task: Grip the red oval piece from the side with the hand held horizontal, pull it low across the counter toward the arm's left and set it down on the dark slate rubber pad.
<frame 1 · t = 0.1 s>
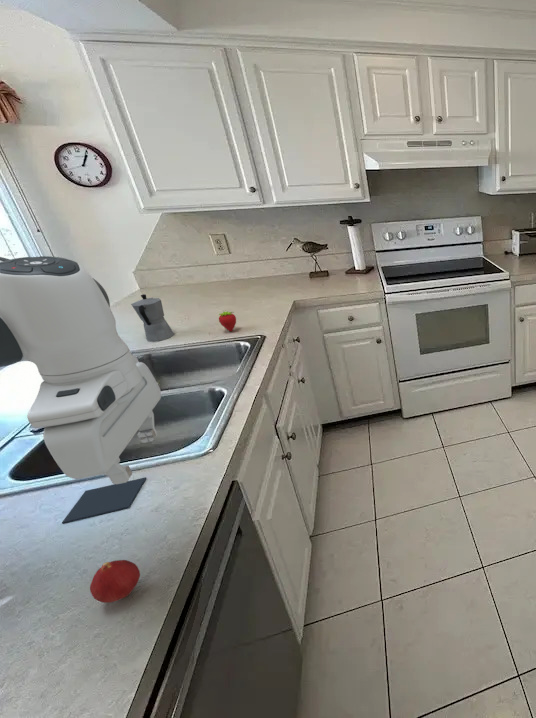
hand: (137, 458, 61), 25 cm above the worktop, tool pointing down, fingers open, 8 cm apart
strawberry: (231, 331, 169), on the worktop
pad: (107, 499, 87), on the worktop
coffeepot: (160, 338, 164), on the worktop
red oval piece: (125, 596, 68), on the worktop
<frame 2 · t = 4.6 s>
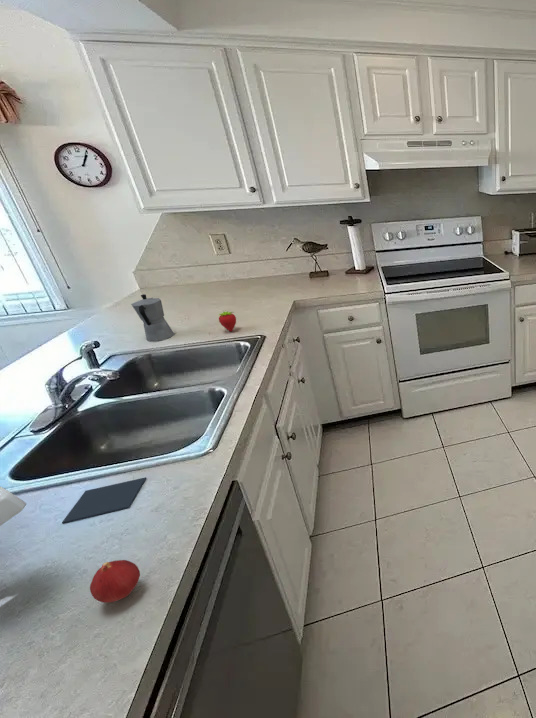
nothing on the worktop moved.
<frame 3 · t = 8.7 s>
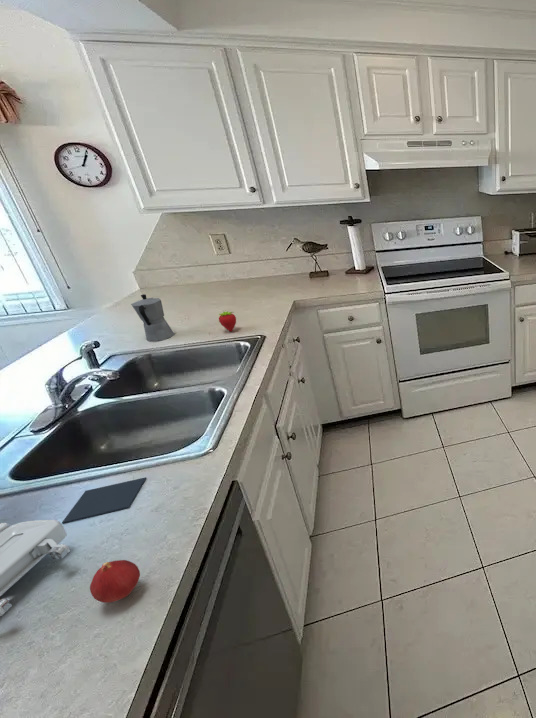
hand: (37, 577, 66), 5 cm above the worktop, tool horizontal, fingers open, 8 cm apart
nothing on the worktop moved.
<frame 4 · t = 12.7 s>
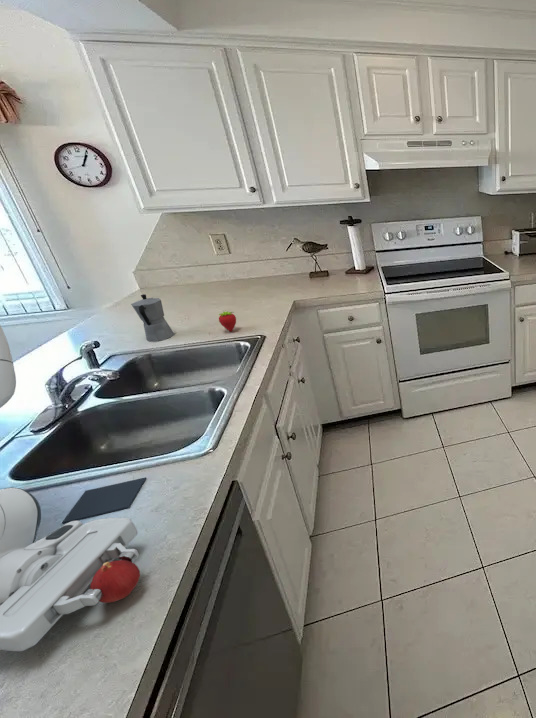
hand: (117, 575, 65), 5 cm above the worktop, tool horizontal, fingers closed on red oval piece, 5 cm apart
red oval piece: (125, 596, 68), on the worktop, touching gripper
everything else where it was.
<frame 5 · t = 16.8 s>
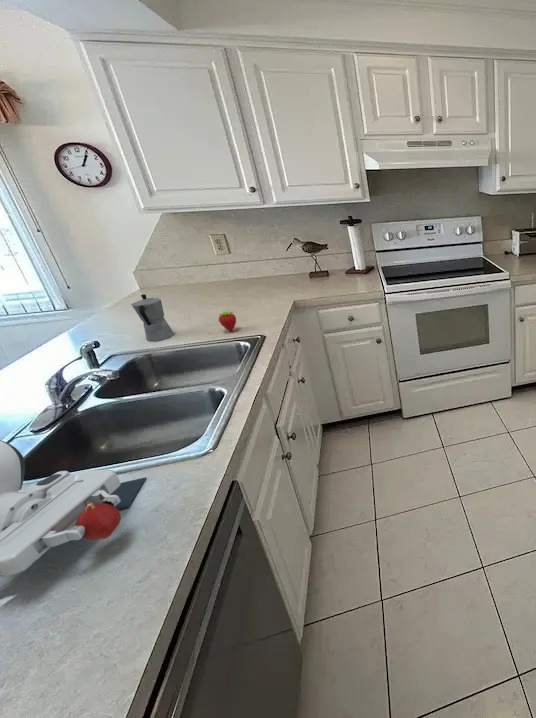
hand: (100, 516, 73), 8 cm above the worktop, tool horizontal, fingers closed on red oval piece, 5 cm apart
red oval piece: (107, 537, 75), point 3 cm above the worktop, touching gripper
everything else where it was.
when the fingers open (5 cm above the worktop, at t = 21.2 s): red oval piece stays where it is, resting on pad.
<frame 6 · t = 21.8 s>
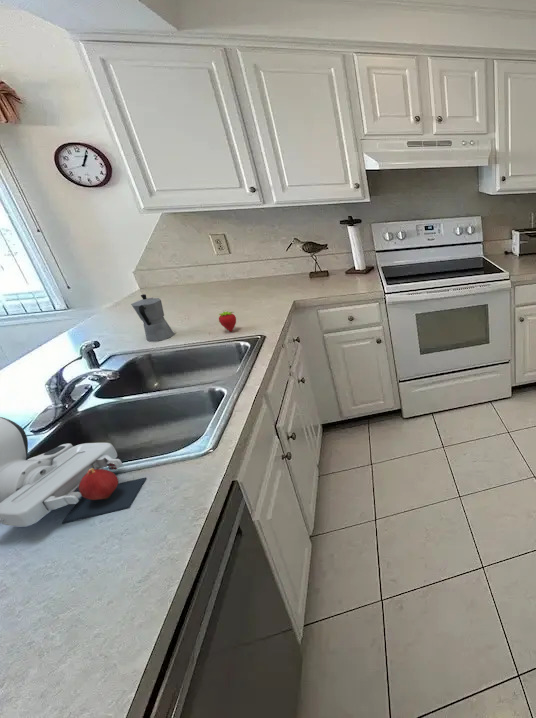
hand: (99, 480, 84), 6 cm above the worktop, tool horizontal, fingers open, 8 cm apart
red oval piece: (107, 498, 87), resting on pad
everything else where it was.
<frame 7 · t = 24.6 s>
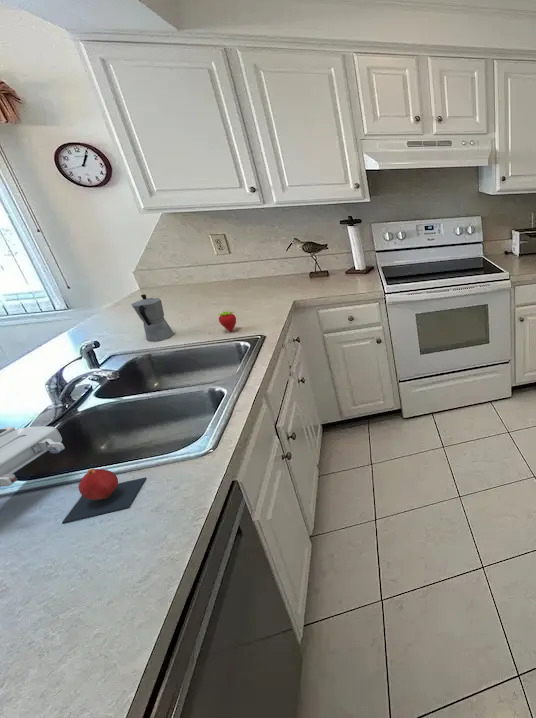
hand: (37, 462, 82), 11 cm above the worktop, tool horizontal, fingers open, 8 cm apart
nothing on the worktop moved.
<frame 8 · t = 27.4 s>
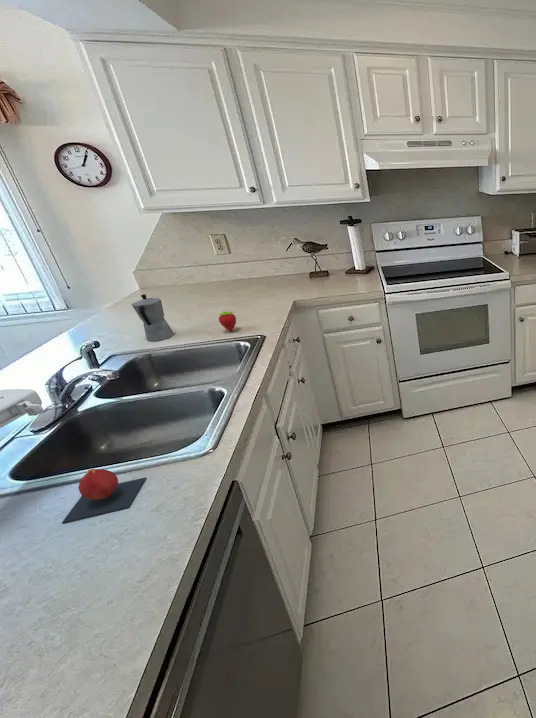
hand: (14, 424, 78), 20 cm above the worktop, tool horizontal, fingers open, 8 cm apart
nothing on the worktop moved.
at the end: red oval piece inside the target area on the pad (0.1 cm from its centre), point 0.2 cm above the pad's base; red oval piece tilted 0°; the gripper is holding nothing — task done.
